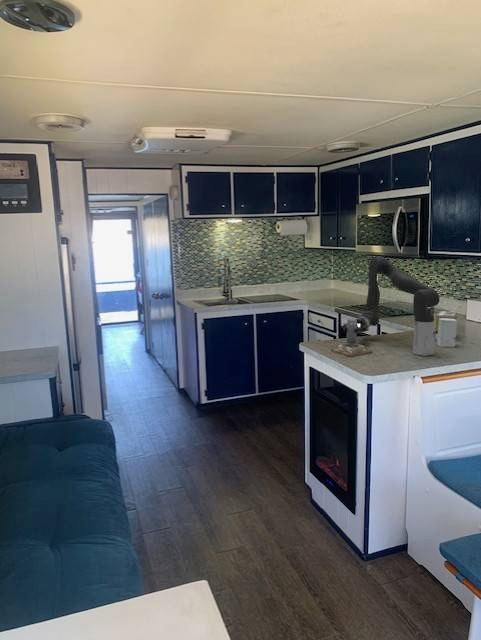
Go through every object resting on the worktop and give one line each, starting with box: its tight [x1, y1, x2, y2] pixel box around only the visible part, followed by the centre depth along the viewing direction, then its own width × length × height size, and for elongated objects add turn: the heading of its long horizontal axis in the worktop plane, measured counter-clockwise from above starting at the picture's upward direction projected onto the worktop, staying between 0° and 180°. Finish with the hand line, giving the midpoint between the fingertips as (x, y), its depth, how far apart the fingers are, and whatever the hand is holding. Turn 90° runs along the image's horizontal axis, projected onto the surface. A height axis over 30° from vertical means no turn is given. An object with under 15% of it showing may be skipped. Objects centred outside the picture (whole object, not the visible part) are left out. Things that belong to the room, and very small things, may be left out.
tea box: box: [435, 310, 458, 341], centre depth 277 cm, size 15×10×15 cm, turn 150°
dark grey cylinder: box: [346, 318, 357, 344], centre depth 249 cm, size 5×5×12 cm
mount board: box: [330, 342, 373, 358], centre depth 251 cm, size 15×15×4 cm
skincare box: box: [436, 318, 458, 348], centre depth 259 cm, size 8×6×15 cm
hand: (350, 330), depth 247 cm, fingers closed on dark grey cylinder, 5 cm apart
